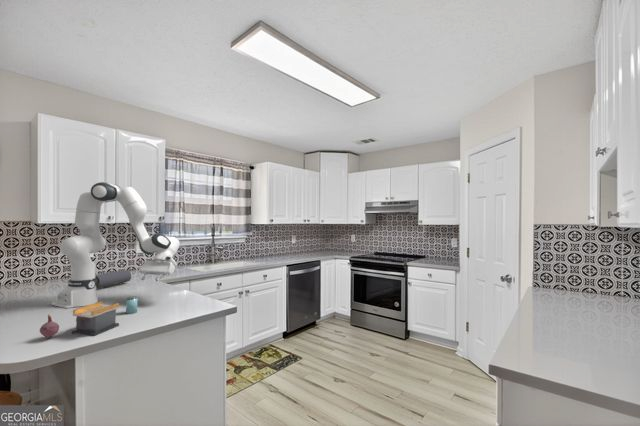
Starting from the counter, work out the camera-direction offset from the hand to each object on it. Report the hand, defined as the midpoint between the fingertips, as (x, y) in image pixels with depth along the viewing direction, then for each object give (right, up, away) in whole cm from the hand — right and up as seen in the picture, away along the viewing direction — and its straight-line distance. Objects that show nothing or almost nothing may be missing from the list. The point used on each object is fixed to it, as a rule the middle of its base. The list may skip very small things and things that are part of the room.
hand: (149, 280), depth 169 cm
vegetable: (-15, -14, -46) cm, 50 cm away
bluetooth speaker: (-50, -14, +40) cm, 66 cm away
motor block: (-5, -14, -35) cm, 38 cm away
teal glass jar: (-3, -14, -12) cm, 19 cm away
